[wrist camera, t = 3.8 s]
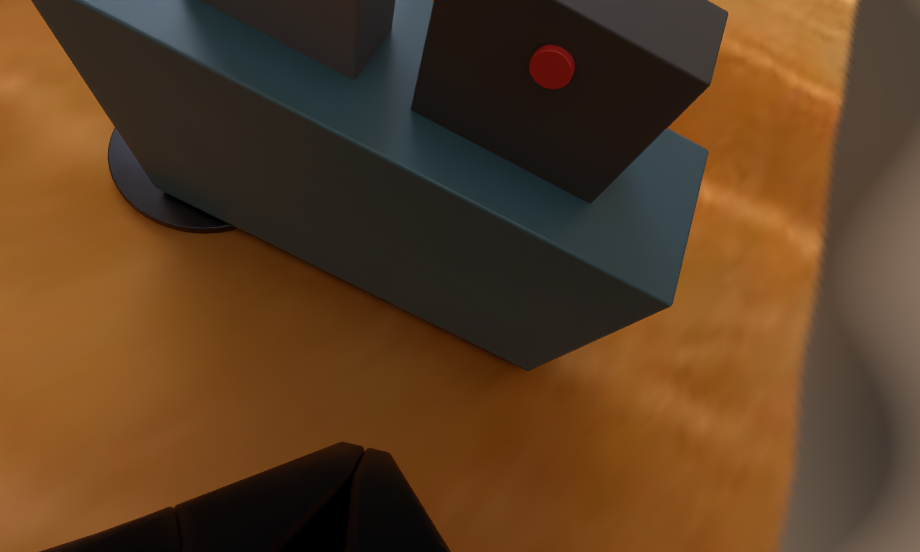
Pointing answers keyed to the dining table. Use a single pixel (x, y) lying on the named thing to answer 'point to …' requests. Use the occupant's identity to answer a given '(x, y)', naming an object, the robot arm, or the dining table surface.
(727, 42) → the dining table surface
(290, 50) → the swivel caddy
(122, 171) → the foot
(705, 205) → the dining table surface
